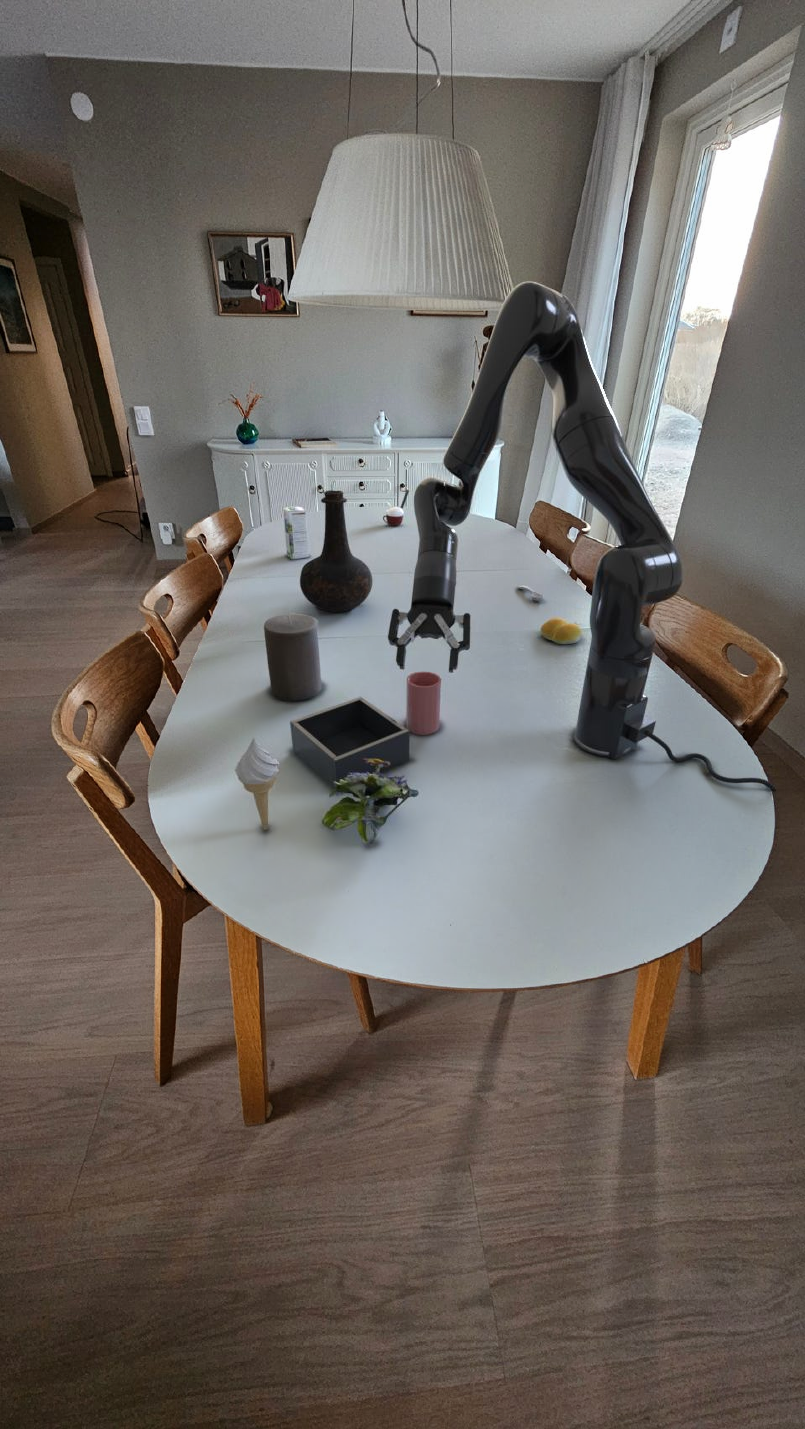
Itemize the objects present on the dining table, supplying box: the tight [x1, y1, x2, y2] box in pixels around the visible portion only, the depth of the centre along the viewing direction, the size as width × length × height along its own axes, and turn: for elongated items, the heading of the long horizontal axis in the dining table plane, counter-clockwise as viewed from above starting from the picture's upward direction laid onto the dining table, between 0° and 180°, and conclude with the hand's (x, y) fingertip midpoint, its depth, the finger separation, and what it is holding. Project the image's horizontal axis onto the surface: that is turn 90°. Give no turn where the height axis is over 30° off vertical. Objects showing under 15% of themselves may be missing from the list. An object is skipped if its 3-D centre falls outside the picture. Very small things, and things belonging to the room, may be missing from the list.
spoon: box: [517, 585, 545, 602], centre depth 164 cm, size 3×12×2 cm, turn 16°
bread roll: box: [540, 617, 583, 645], centre depth 140 cm, size 8×9×4 cm
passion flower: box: [321, 758, 420, 845], centre depth 84 cm, size 11×11×12 cm
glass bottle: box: [299, 489, 373, 613], centre depth 151 cm, size 18×18×28 cm
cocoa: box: [382, 489, 410, 527], centre depth 225 cm, size 10×6×12 cm, turn 91°
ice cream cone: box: [234, 737, 280, 831], centre depth 81 cm, size 6×6×15 cm
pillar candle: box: [263, 612, 322, 702], centre depth 116 cm, size 10×10×15 cm
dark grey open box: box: [289, 696, 411, 790], centre depth 99 cm, size 14×14×6 cm
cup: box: [405, 671, 442, 736], centre depth 106 cm, size 6×6×9 cm
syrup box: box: [282, 506, 310, 560], centre depth 191 cm, size 6×6×14 cm
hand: (426, 669), depth 107 cm, fingers open, 8 cm apart
